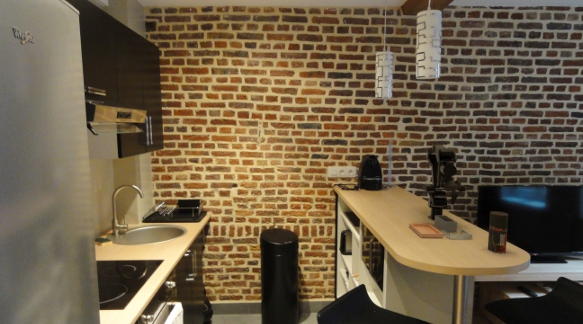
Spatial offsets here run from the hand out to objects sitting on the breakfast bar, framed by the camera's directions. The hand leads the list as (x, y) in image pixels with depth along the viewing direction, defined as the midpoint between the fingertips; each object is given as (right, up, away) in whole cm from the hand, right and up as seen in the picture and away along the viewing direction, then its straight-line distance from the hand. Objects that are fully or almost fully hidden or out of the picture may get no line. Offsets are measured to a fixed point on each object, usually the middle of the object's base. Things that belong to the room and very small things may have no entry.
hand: (443, 204), depth 144 cm
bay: (-1, -12, -12) cm, 17 cm away
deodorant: (+7, -14, -28) cm, 32 cm away
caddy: (0, -11, -2) cm, 12 cm away
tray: (-12, -12, -7) cm, 19 cm away
